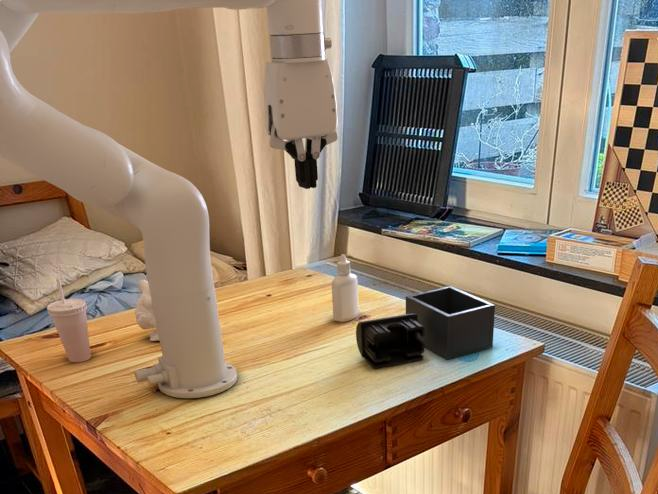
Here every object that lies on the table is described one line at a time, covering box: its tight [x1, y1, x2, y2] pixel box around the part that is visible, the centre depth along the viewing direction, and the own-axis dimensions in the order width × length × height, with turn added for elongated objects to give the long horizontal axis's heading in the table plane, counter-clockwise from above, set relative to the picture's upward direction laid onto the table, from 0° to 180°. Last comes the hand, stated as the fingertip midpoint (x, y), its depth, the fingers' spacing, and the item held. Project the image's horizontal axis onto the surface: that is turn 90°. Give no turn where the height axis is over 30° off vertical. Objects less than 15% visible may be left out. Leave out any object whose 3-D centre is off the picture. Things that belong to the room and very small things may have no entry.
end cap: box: [355, 313, 425, 370], centre depth 125 cm, size 10×7×7 cm
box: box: [405, 285, 496, 361], centre depth 129 cm, size 10×13×8 cm
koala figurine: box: [134, 279, 160, 342], centre depth 135 cm, size 8×7×12 cm
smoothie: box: [46, 277, 92, 363], centre depth 128 cm, size 6×6×14 cm
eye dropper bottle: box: [331, 253, 360, 323], centre depth 140 cm, size 4×6×12 cm
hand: (307, 186), depth 115 cm, fingers closed
